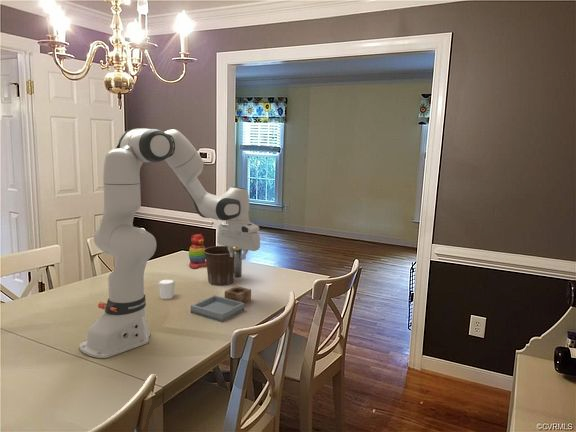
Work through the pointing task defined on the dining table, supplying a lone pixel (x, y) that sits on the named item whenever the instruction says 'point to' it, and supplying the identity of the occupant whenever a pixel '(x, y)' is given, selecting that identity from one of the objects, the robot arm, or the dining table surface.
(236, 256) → the steel pin
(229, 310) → the tray
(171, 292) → the white cylinder
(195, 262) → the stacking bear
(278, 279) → the dining table surface
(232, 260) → the plant pot
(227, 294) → the pin block
